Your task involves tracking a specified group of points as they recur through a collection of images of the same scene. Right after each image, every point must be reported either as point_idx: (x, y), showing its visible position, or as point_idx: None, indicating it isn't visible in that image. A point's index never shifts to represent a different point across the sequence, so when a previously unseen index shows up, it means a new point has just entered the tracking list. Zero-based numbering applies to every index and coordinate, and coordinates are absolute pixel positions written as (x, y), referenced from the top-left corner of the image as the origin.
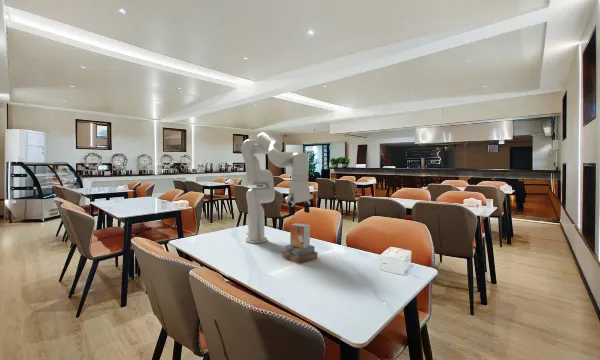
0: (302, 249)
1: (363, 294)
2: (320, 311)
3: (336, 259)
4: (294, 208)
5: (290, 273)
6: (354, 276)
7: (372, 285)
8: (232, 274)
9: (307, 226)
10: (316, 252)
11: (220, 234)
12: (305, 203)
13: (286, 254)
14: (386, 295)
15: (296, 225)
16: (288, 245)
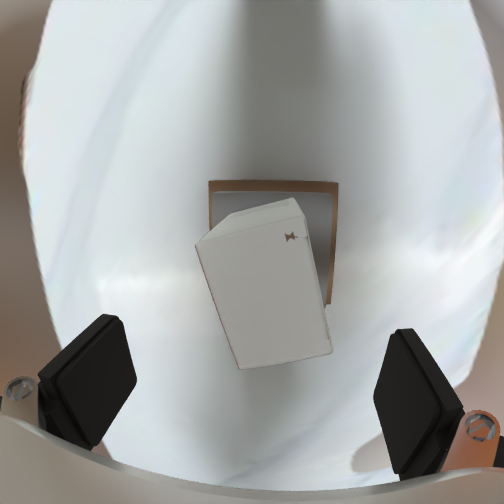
0: None
1: (214, 469)
2: (119, 442)
3: (366, 345)
4: (101, 436)
5: (146, 325)
6: (275, 439)
7: (262, 468)
8: (31, 211)
9: (291, 359)
10: (326, 302)
11: None
12: (439, 446)
13: (210, 211)
14: (243, 485)
15: (219, 302)
16: (229, 198)
